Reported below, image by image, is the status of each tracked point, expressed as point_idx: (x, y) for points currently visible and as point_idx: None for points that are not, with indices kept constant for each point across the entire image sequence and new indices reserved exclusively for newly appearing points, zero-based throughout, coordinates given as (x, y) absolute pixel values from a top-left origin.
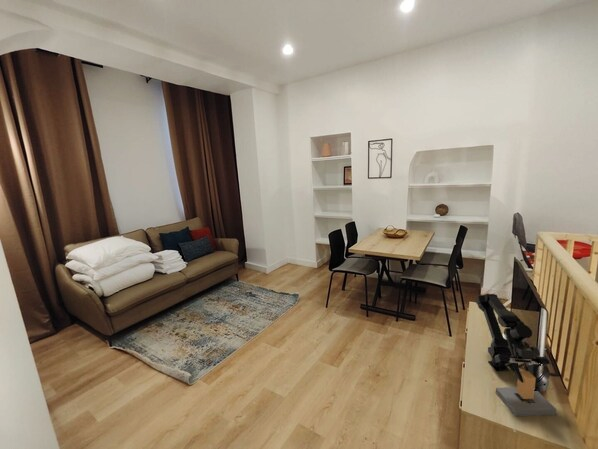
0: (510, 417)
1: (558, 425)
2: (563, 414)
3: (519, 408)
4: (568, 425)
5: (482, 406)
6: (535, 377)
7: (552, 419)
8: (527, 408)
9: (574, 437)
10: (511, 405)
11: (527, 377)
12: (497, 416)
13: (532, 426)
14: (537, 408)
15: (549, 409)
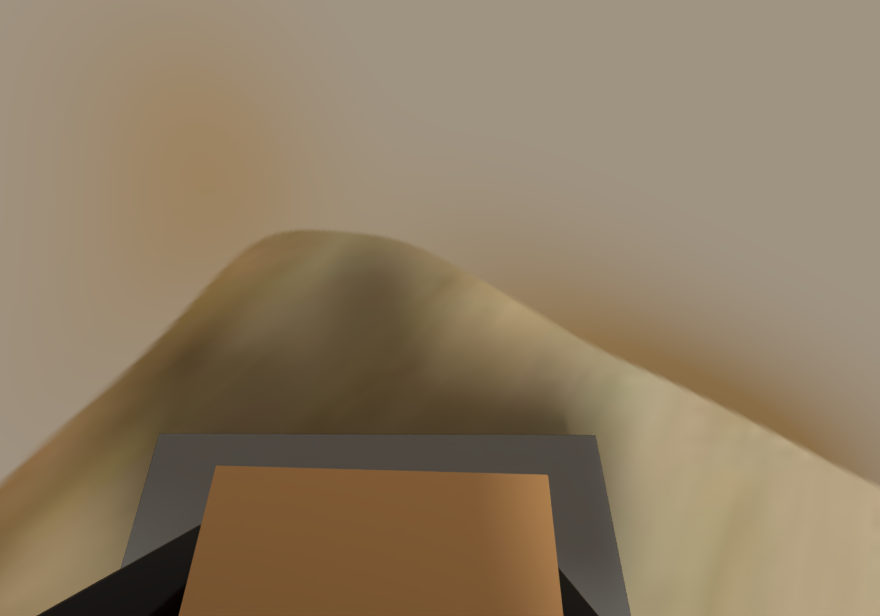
0: (623, 440)
1: (281, 348)
2: (108, 450)
3: (545, 461)
4: (199, 343)
5: (842, 584)
6: (141, 576)
7: (273, 403)
8: (460, 459)
9: (266, 260)
10: (608, 505)
11: (468, 505)
12: (728, 455)
13: (494, 352)
14: (356, 452)
15: (239, 434)
